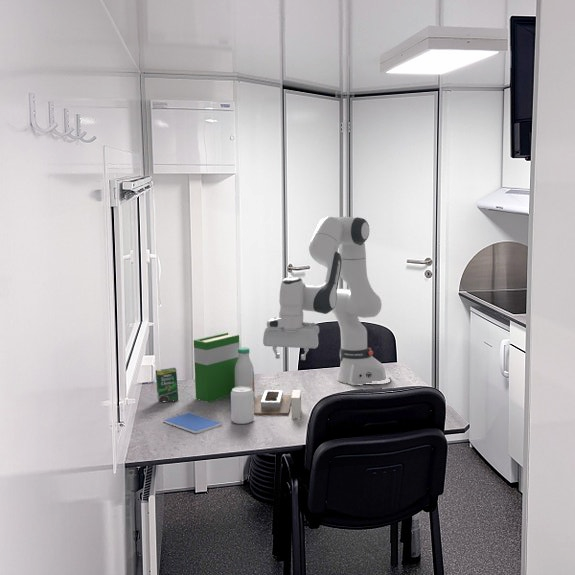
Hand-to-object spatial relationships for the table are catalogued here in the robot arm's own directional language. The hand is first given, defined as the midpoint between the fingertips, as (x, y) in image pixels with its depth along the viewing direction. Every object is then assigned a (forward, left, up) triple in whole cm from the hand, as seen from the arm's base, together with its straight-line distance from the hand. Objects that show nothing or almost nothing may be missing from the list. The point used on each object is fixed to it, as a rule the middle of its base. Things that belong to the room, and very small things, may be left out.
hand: (290, 359), depth 275 cm
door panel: (-2, +1, -21) cm, 21 cm away
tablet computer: (+35, +12, -22) cm, 43 cm away
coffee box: (+50, -14, -21) cm, 56 cm away
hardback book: (+31, -22, -21) cm, 44 cm away
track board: (+8, -9, -21) cm, 24 cm away
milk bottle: (+20, -20, -21) cm, 35 cm away
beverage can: (+17, +9, -21) cm, 28 cm away
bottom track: (+8, -9, -21) cm, 24 cm away
